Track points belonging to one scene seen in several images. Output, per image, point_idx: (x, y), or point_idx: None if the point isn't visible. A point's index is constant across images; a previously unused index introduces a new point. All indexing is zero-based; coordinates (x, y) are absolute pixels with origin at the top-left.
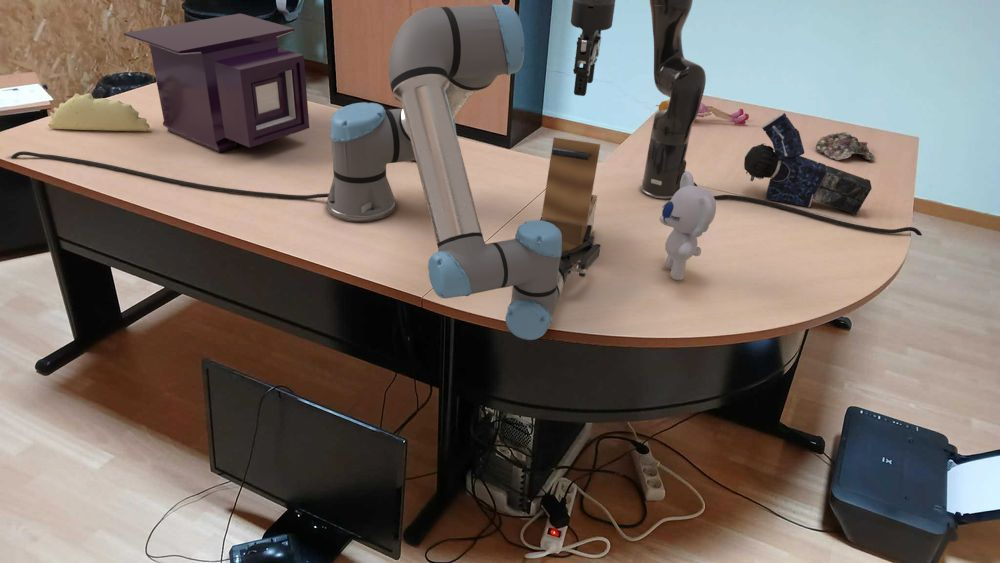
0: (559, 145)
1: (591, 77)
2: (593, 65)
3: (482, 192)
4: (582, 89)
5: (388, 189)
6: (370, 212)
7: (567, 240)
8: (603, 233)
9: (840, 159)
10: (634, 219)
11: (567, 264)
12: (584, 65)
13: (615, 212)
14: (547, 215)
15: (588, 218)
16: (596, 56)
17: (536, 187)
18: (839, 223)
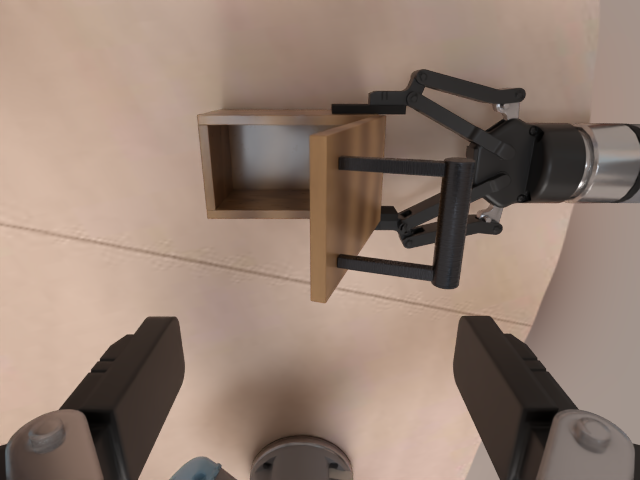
0: (332, 271)
1: (161, 342)
2: (120, 407)
3: None
4: (532, 358)
5: (294, 473)
6: (341, 463)
7: None
8: (216, 83)
9: None
10: (112, 18)
11: (522, 128)
12: (140, 462)
13: (100, 70)
14: (380, 210)
15: (335, 116)
16: (33, 468)
17: (78, 256)
18: None
